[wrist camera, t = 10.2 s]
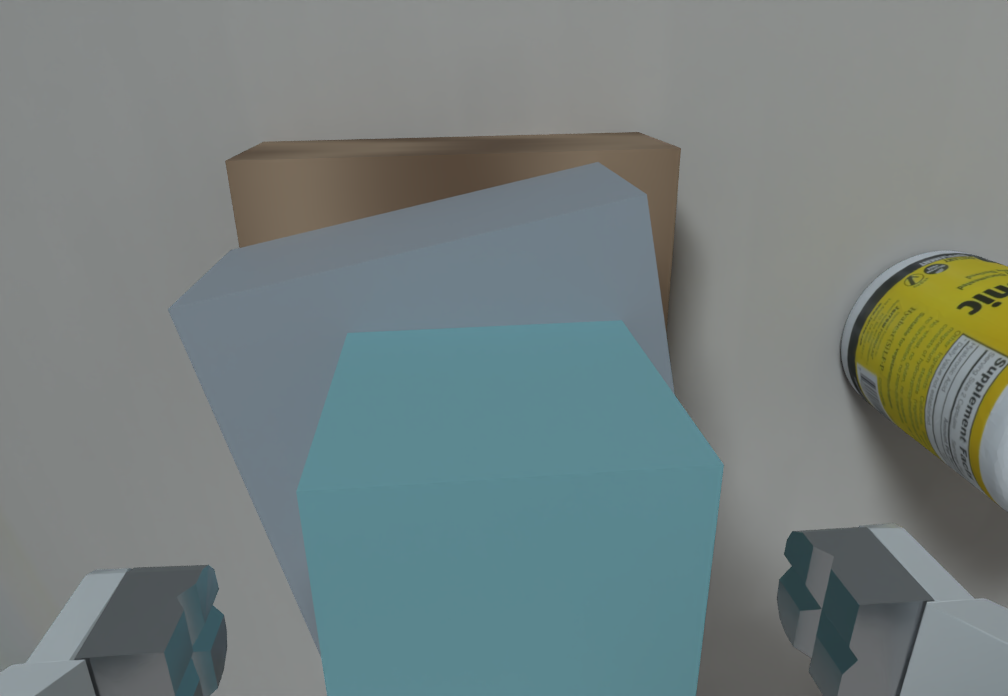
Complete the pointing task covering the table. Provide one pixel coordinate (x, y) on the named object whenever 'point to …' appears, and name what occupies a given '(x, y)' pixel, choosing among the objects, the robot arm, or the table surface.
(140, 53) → the table surface
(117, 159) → the table surface
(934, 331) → the supplement bottle
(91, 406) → the table surface
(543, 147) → the walnut base block
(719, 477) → the teal cube
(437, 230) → the grey top block
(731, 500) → the table surface
